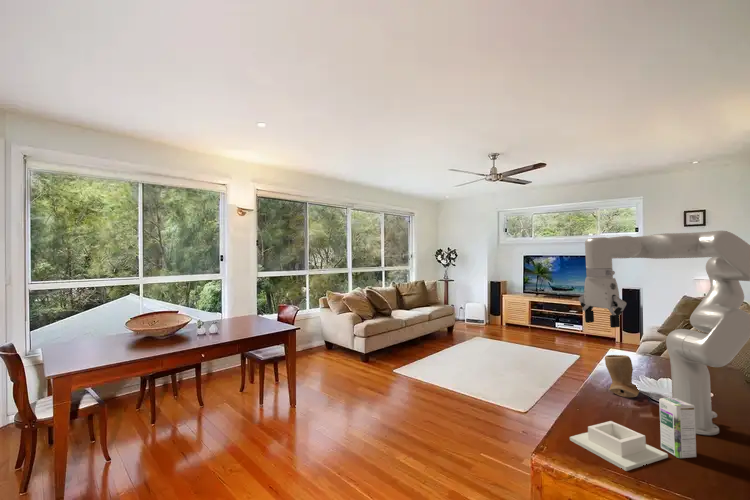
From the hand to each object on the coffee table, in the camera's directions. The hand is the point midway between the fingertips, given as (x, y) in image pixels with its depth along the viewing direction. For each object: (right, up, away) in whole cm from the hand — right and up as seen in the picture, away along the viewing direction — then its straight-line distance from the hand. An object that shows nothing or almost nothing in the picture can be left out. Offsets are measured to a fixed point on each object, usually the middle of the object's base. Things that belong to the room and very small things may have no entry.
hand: (601, 324), depth 116 cm
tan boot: (+27, -35, +28) cm, 52 cm away
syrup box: (+10, -33, -18) cm, 39 cm away
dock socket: (-6, -33, -15) cm, 37 cm away
